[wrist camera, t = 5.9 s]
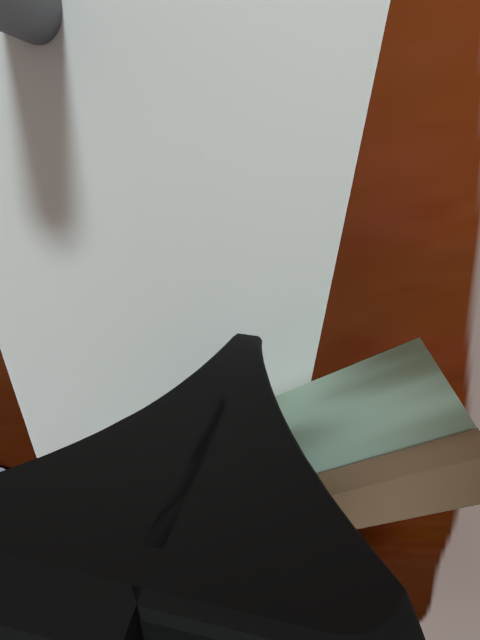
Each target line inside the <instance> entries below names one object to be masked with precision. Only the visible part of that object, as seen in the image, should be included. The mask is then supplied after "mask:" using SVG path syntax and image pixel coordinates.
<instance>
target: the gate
mask: <svg viewBox="0 0 480 640" xmlns="http://www.w3.org/2000/svg"><path fill="white" fill-rule="evenodd" d="M275 398H276V400H277V402H278V405H279V407H280V410H281V412H282V414H283V416H284V418H285V420H286V422H287V424H288V426H289V428H290V430H291V432H292V434H293V436H294V438H295V439H296V441H297V443H298V445H299V446H300V448H301V450H302V452H303V453H304V455H305V457H306V458H307V460H308V461H309V463H310V464H311V466H312V467H313V469H314V470H315V472H316V473H317V475H318V476H319V478H320V480H321V481H322V483H323V484H324V486H325V487H326V489H327V490H328V492H329V493H330V495H331V496H332V497H333V499H334V500H335V501H336V503H337V504H338V506H339V507H340V508H341V510H342V511H343V512H344V514H345V515H346V516H347V518H348V519H349V520H350V522H351V523H352V524H353V526H354V527H355V528H356V529H360V528H365V527H370V526H375V525H380V524H385V523H390V522H395V521H400V520H405V519H409V518H414V517H419V516H424V515H429V514H434V513H439V512H444V511H449V510H454V509H459V508H464V507H468V506H474V505H478V504H480V431H479V429H478V428H477V427H476V425H475V424H474V422H473V421H472V419H471V417H470V416H469V414H468V413H467V411H466V410H465V408H464V406H463V405H462V403H461V402H460V400H459V399H458V397H457V395H456V394H455V392H454V391H453V389H452V388H451V386H450V384H449V383H448V381H447V380H446V378H445V377H444V375H443V373H442V372H441V370H440V369H439V367H438V366H437V364H436V362H435V361H434V359H433V358H432V356H431V355H430V353H429V351H428V350H427V348H426V347H425V345H424V343H423V342H422V340H421V339H420V337H419V338H417V339H414V340H412V341H409V342H407V343H405V344H402V345H400V346H397V347H395V348H392V349H390V350H387V351H385V352H383V353H380V354H378V355H375V356H373V357H370V358H368V359H365V360H363V361H360V362H358V363H356V364H353V365H351V366H348V367H346V368H343V369H341V370H338V371H336V372H334V373H331V374H329V375H326V376H324V377H321V378H319V379H316V380H314V381H312V382H309V383H307V384H304V385H302V386H299V387H297V388H294V389H292V390H290V391H287V392H285V393H282V394H280V395H277V396H275Z"/></svg>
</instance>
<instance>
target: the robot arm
mask: <svg viewBox="0 0 480 640" xmlns="http://www.w3.org/2000/svg"><path fill="white" fill-rule="evenodd" d="M0 640H425V637H424V634H423V632H422V629H421V626H420V624H419V621H418V619H417V616H416V613H415V611H414V608H413V606H412V603H411V601H410V598H409V596H408V593H407V591H406V589H405V588H404V587H403V585H402V584H401V583H400V582H399V581H398V580H397V578H396V577H395V576H394V575H393V574H392V573H391V571H390V570H389V569H388V568H387V567H386V565H385V564H384V563H383V562H382V561H381V559H380V558H379V557H378V556H377V555H376V553H375V552H374V551H373V550H372V548H371V547H370V546H369V545H368V543H367V542H366V541H365V540H364V538H363V537H362V536H361V535H360V533H359V532H358V531H357V530H356V528H355V527H354V526H353V524H352V523H351V522H350V520H349V519H348V518H347V516H346V515H345V514H344V512H343V511H342V510H341V508H340V507H339V506H338V504H337V503H336V501H335V500H334V499H333V497H332V496H331V495H330V493H329V492H328V490H327V489H326V487H325V486H324V484H323V483H322V481H321V480H320V478H319V476H318V475H317V473H316V472H315V470H314V469H313V467H312V466H311V464H310V463H309V461H308V460H307V458H306V457H305V455H304V453H303V452H302V450H301V448H300V446H299V445H298V443H297V441H296V439H295V438H294V436H293V434H292V432H291V430H290V428H289V426H288V424H287V422H286V420H285V418H284V416H283V414H282V412H281V410H280V407H279V405H278V402H277V400H276V398H275V395H274V393H273V390H272V387H271V384H270V381H269V378H268V375H267V371H266V368H265V364H264V359H263V354H262V339H261V338H260V337H259V336H254V335H247V334H239V333H237V334H236V335H235V336H233V337H232V338H231V339H230V340H229V341H228V342H227V343H226V344H225V345H224V346H223V347H222V348H221V349H220V350H219V351H218V352H217V353H216V354H215V355H214V356H213V357H212V358H211V359H209V360H208V361H207V362H206V363H205V364H204V365H203V366H201V367H200V368H199V369H198V370H197V371H196V372H194V373H193V374H192V375H190V376H189V377H188V378H187V379H185V380H184V381H183V382H181V383H180V384H179V385H177V386H176V387H175V388H173V389H172V390H170V391H169V392H168V393H166V394H165V395H163V396H162V397H160V398H159V399H157V400H156V401H154V402H152V403H151V404H149V405H148V406H146V407H144V408H143V409H141V410H139V411H137V412H135V413H134V414H132V415H130V416H128V417H126V418H124V419H122V420H120V421H118V422H116V423H115V424H113V425H111V426H109V427H107V428H105V429H103V430H101V431H99V432H97V433H95V434H93V435H90V436H88V437H86V438H84V439H82V440H80V441H77V442H75V443H73V444H71V445H68V446H66V447H63V448H61V449H59V450H56V451H54V452H52V453H49V454H47V455H44V456H42V457H39V458H37V459H34V460H32V461H29V462H26V463H24V464H21V465H18V466H15V467H12V468H10V469H7V470H6V469H4V468H2V467H0Z"/></svg>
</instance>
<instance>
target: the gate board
mask: <svg viewBox="0 0 480 640" xmlns="http://www.w3.org/2000/svg"><path fill="white" fill-rule="evenodd" d="M389 4H390V0H0V349H1V352H2V355H3V358H4V361H5V364H6V367H7V370H8V373H9V376H10V379H11V382H12V385H13V388H14V391H15V394H16V397H17V400H18V403H19V406H20V409H21V412H22V415H23V418H24V421H25V424H26V427H27V430H28V433H29V436H30V439H31V442H32V445H33V448H34V451H35V454H36V457H37V458H39V457H42V456H44V455H47V454H49V453H52V452H54V451H56V450H59V449H61V448H63V447H66V446H68V445H71V444H73V443H75V442H77V441H80V440H82V439H84V438H86V437H88V436H90V435H93V434H95V433H97V432H99V431H101V430H103V429H105V428H107V427H109V426H111V425H113V424H115V423H116V422H118V421H120V420H122V419H124V418H126V417H128V416H130V415H132V414H134V413H135V412H137V411H139V410H141V409H143V408H144V407H146V406H148V405H149V404H151V403H152V402H154V401H156V400H157V399H159V398H160V397H162V396H163V395H165V394H166V393H168V392H169V391H170V390H172V389H173V388H175V387H176V386H177V385H179V384H180V383H181V382H183V381H184V380H185V379H187V378H188V377H189V376H190V375H192V374H193V373H194V372H196V371H197V370H198V369H199V368H200V367H201V366H203V365H204V364H205V363H206V362H207V361H208V360H209V359H211V358H212V357H213V356H214V355H215V354H216V353H217V352H218V351H219V350H220V349H221V348H222V347H223V346H224V345H225V344H226V343H227V342H228V341H229V340H230V339H231V338H232V337H233V336H235V335H236V334H237V333H239V334H247V335H254V336H259V337H260V338H261V339H262V354H263V359H264V364H265V368H266V371H267V375H268V378H269V381H270V384H271V387H272V390H273V393H274V395H275V396H277V395H280V394H282V393H285V392H287V391H290V390H292V389H294V388H297V387H299V386H302V385H304V384H307V383H309V382H311V378H312V373H313V368H314V364H315V359H316V354H317V349H318V345H319V340H320V335H321V330H322V325H323V321H324V316H325V311H326V306H327V301H328V297H329V292H330V287H331V282H332V277H333V273H334V268H335V263H336V258H337V254H338V249H339V244H340V239H341V234H342V230H343V225H344V220H345V215H346V210H347V206H348V201H349V196H350V191H351V186H352V182H353V177H354V172H355V167H356V163H357V158H358V153H359V148H360V143H361V139H362V134H363V129H364V124H365V119H366V115H367V110H368V105H369V100H370V95H371V91H372V86H373V81H374V76H375V72H376V67H377V62H378V57H379V52H380V48H381V43H382V38H383V33H384V28H385V24H386V19H387V14H388V9H389Z"/></svg>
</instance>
